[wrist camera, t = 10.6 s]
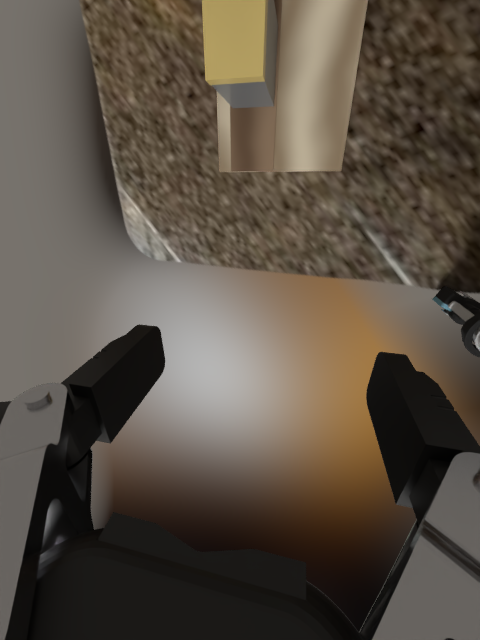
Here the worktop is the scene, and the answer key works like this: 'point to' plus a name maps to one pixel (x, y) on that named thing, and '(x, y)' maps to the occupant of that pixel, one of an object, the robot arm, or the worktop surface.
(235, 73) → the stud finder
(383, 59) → the worktop surface
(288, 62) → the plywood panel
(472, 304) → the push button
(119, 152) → the worktop surface
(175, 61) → the worktop surface
